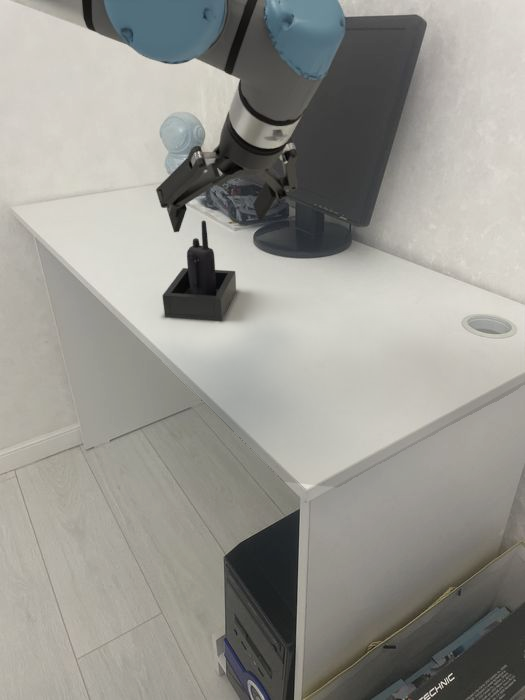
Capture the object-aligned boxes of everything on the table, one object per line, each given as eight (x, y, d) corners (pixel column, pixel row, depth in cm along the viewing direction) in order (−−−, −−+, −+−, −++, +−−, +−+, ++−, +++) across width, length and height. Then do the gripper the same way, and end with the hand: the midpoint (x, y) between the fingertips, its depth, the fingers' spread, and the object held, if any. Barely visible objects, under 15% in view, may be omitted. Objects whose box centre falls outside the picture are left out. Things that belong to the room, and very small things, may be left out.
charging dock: (164, 317, 92) (162, 295, 90) (184, 288, 102) (182, 267, 100) (221, 321, 91) (220, 299, 88) (236, 291, 101) (235, 270, 99)
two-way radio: (220, 299, 96) (216, 220, 88) (204, 308, 93) (198, 227, 85) (198, 292, 99) (192, 214, 91) (182, 300, 96) (174, 221, 88)
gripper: (162, 162, 54) (142, 253, 73) (361, 143, 63) (297, 228, 82) (142, 101, 55) (128, 205, 74) (341, 91, 64) (282, 186, 83)
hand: (217, 217), depth 78 cm, fingers open, 13 cm apart
